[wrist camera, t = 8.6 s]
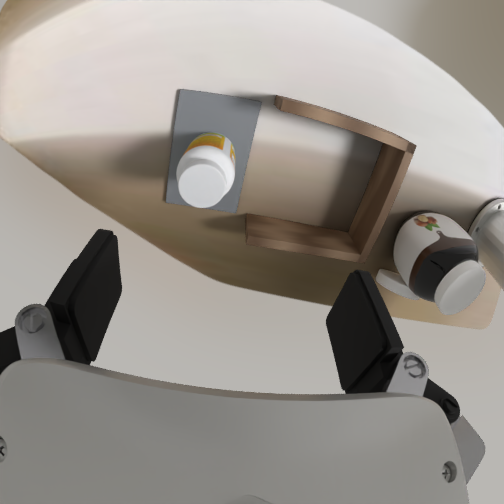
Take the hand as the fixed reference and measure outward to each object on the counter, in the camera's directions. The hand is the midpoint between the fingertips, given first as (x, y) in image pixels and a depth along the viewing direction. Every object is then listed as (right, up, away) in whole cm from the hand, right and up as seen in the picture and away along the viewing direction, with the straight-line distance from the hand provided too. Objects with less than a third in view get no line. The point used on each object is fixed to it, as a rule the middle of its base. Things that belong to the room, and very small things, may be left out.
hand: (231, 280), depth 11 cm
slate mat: (-3, +11, +16) cm, 19 cm away
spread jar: (+22, +2, +24) cm, 33 cm away
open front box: (+7, +9, +18) cm, 21 cm away
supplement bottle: (-3, +11, +16) cm, 19 cm away
